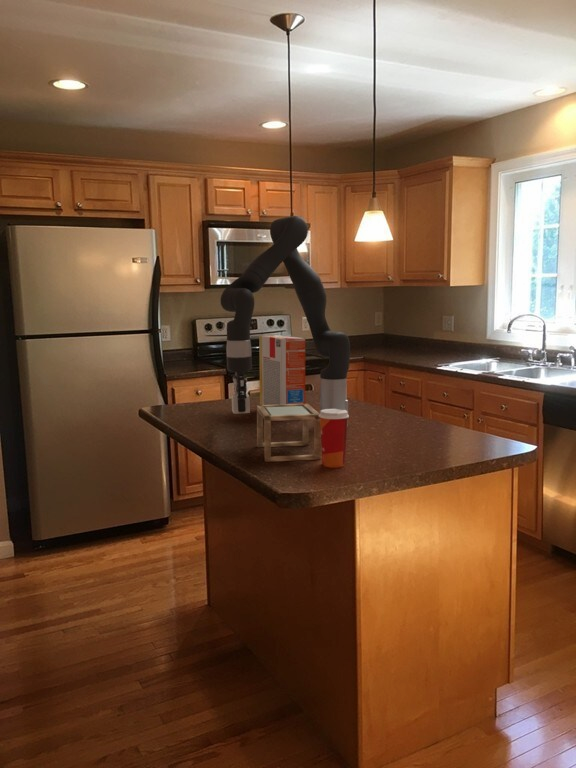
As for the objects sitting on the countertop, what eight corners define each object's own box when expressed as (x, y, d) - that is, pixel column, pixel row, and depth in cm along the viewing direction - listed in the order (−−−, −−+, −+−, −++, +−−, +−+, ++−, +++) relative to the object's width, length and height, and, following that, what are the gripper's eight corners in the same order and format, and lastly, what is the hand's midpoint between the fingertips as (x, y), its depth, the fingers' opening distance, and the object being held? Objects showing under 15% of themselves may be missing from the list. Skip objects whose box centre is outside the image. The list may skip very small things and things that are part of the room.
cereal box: (305, 418, 244) (305, 338, 240) (286, 420, 240) (285, 339, 236) (277, 408, 264) (277, 334, 260) (259, 410, 260) (259, 335, 256)
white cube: (248, 409, 201) (247, 393, 200) (249, 412, 196) (249, 396, 196) (232, 410, 200) (231, 394, 200) (233, 413, 196) (232, 397, 195)
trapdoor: (302, 409, 198) (302, 405, 198) (312, 418, 183) (312, 414, 183) (265, 410, 196) (265, 407, 196) (272, 419, 181) (272, 416, 181)
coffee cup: (330, 459, 183) (330, 407, 181) (354, 464, 178) (355, 410, 176) (312, 465, 177) (312, 411, 174) (336, 470, 171) (337, 415, 169)
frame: (307, 444, 202) (307, 403, 200) (320, 459, 183) (320, 414, 181) (257, 446, 199) (256, 405, 197) (265, 461, 181) (264, 416, 179)
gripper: (254, 357, 189) (255, 414, 192) (248, 352, 203) (250, 405, 206) (228, 358, 188) (230, 415, 191) (224, 353, 202) (226, 406, 205)
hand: (240, 409), depth 198 cm, fingers closed on white cube, 5 cm apart
